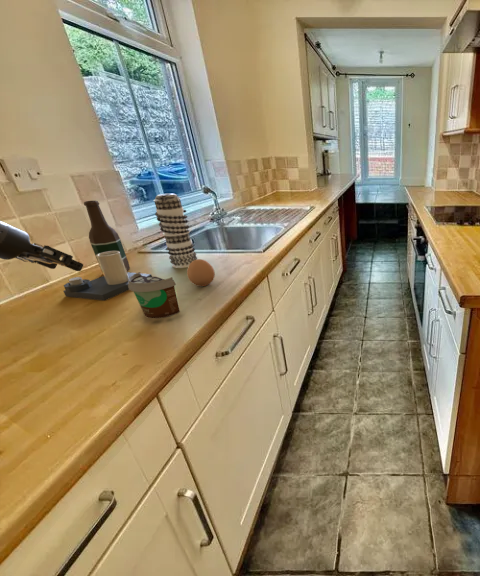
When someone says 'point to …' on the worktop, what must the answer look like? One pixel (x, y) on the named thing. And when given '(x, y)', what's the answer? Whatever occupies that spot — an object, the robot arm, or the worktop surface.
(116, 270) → the cup
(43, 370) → the worktop surface
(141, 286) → the food container
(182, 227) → the white patterned cylinder
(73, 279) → the tare button
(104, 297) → the scale
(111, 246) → the beer bottle
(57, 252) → the robot arm
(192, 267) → the egg
